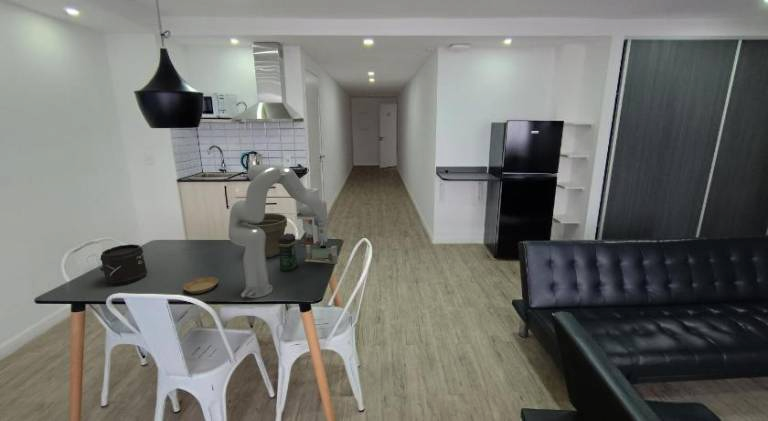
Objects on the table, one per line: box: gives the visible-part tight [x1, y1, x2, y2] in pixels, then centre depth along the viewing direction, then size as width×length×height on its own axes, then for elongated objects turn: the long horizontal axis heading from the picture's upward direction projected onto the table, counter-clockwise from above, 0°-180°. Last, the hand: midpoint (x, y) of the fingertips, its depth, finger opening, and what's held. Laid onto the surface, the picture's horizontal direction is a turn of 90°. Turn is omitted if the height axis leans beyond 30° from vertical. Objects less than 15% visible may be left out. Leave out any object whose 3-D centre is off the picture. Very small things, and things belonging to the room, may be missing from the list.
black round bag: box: [99, 243, 148, 287], centre depth 174 cm, size 18×18×16 cm
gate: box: [311, 247, 331, 259], centre depth 196 cm, size 12×2×6 cm, turn 95°
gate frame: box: [304, 244, 340, 265], centre depth 193 cm, size 4×19×9 cm, turn 75°
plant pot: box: [248, 213, 288, 258], centre depth 205 cm, size 25×25×22 cm
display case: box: [295, 187, 320, 248], centre depth 219 cm, size 11×11×35 cm
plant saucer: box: [183, 276, 219, 294], centre depth 165 cm, size 15×15×3 cm
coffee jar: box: [278, 233, 298, 272], centre depth 184 cm, size 10×8×19 cm
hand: (323, 252), depth 199 cm, fingers closed
